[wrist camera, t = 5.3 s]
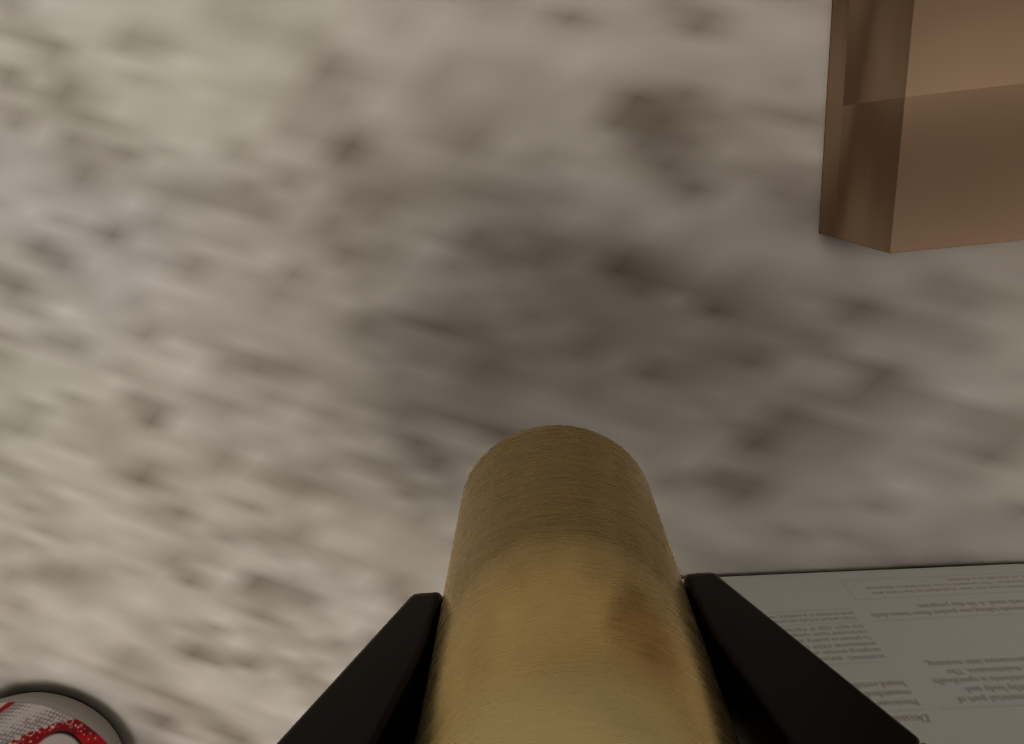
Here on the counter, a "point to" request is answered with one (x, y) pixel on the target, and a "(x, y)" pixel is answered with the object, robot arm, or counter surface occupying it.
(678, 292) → the counter surface
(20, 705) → the soda can
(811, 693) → the robot arm
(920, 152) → the walnut socket block
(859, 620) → the supplement box
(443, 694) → the brass pin
